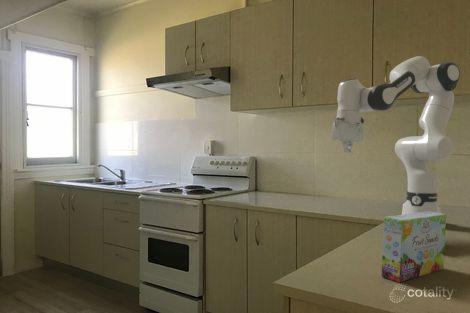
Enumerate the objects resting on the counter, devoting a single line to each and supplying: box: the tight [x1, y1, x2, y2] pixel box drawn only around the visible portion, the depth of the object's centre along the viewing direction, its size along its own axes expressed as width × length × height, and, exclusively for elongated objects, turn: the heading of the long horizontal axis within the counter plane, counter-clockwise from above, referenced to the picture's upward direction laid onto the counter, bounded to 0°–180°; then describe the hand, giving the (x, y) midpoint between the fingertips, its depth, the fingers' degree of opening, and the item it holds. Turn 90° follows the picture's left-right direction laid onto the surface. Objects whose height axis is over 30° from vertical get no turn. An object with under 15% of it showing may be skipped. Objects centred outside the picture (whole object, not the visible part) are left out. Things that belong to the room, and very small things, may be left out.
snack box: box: [381, 212, 447, 283], centre depth 97 cm, size 21×6×15 cm, turn 126°
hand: (347, 152), depth 155 cm, fingers closed
